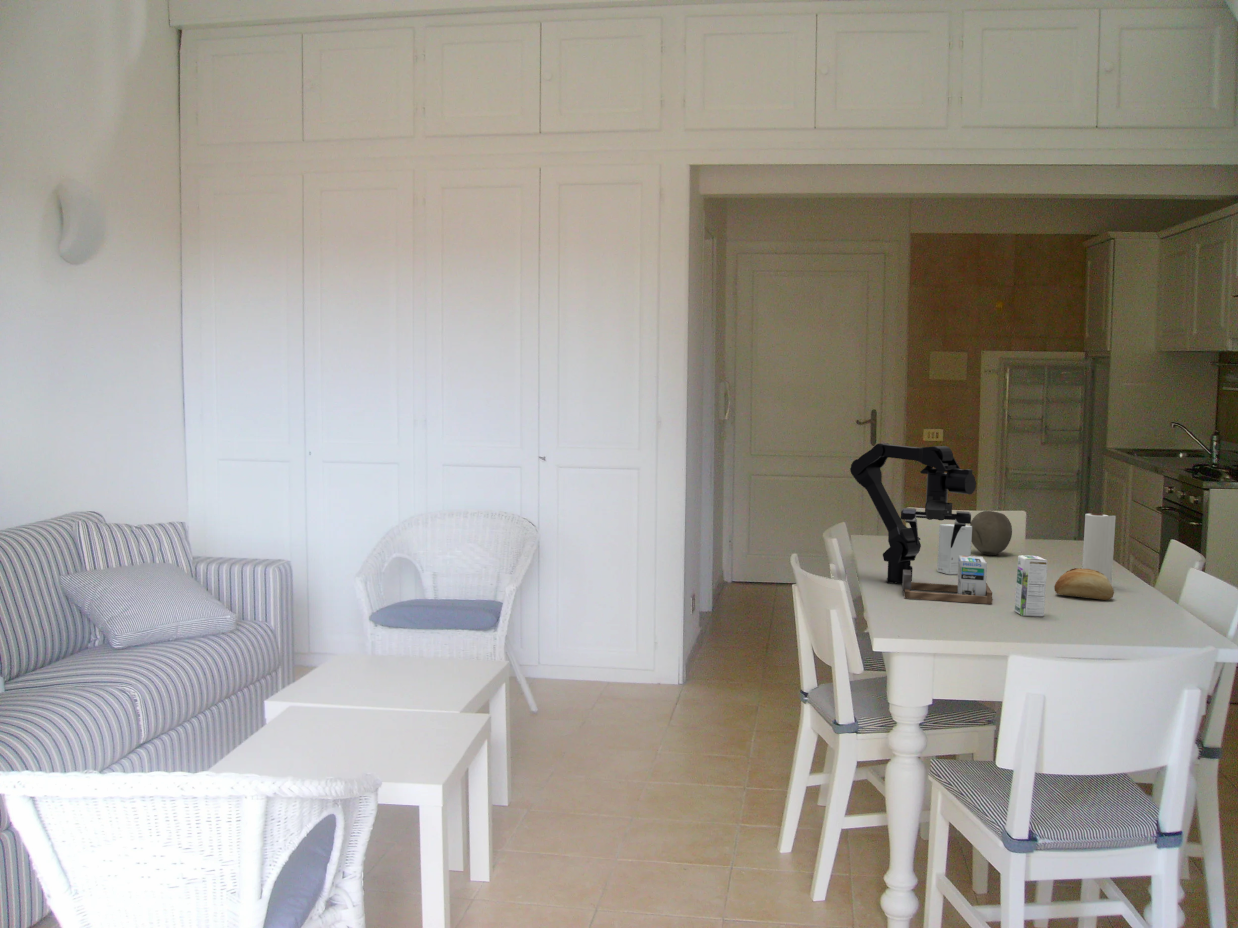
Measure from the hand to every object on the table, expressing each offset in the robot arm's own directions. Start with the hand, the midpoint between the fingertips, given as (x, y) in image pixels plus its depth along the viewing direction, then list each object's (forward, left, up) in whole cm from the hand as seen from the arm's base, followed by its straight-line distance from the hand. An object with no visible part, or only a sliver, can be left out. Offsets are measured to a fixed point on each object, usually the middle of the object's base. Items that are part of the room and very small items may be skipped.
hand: (934, 546), depth 299 cm
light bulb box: (+9, -10, -12) cm, 19 cm away
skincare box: (+8, +29, -12) cm, 33 cm away
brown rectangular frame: (+3, -11, -12) cm, 16 cm away
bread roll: (+40, +1, -12) cm, 42 cm away
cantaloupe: (+23, +72, -12) cm, 77 cm away
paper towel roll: (+46, +17, -12) cm, 51 cm away
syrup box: (+22, -28, -12) cm, 37 cm away
